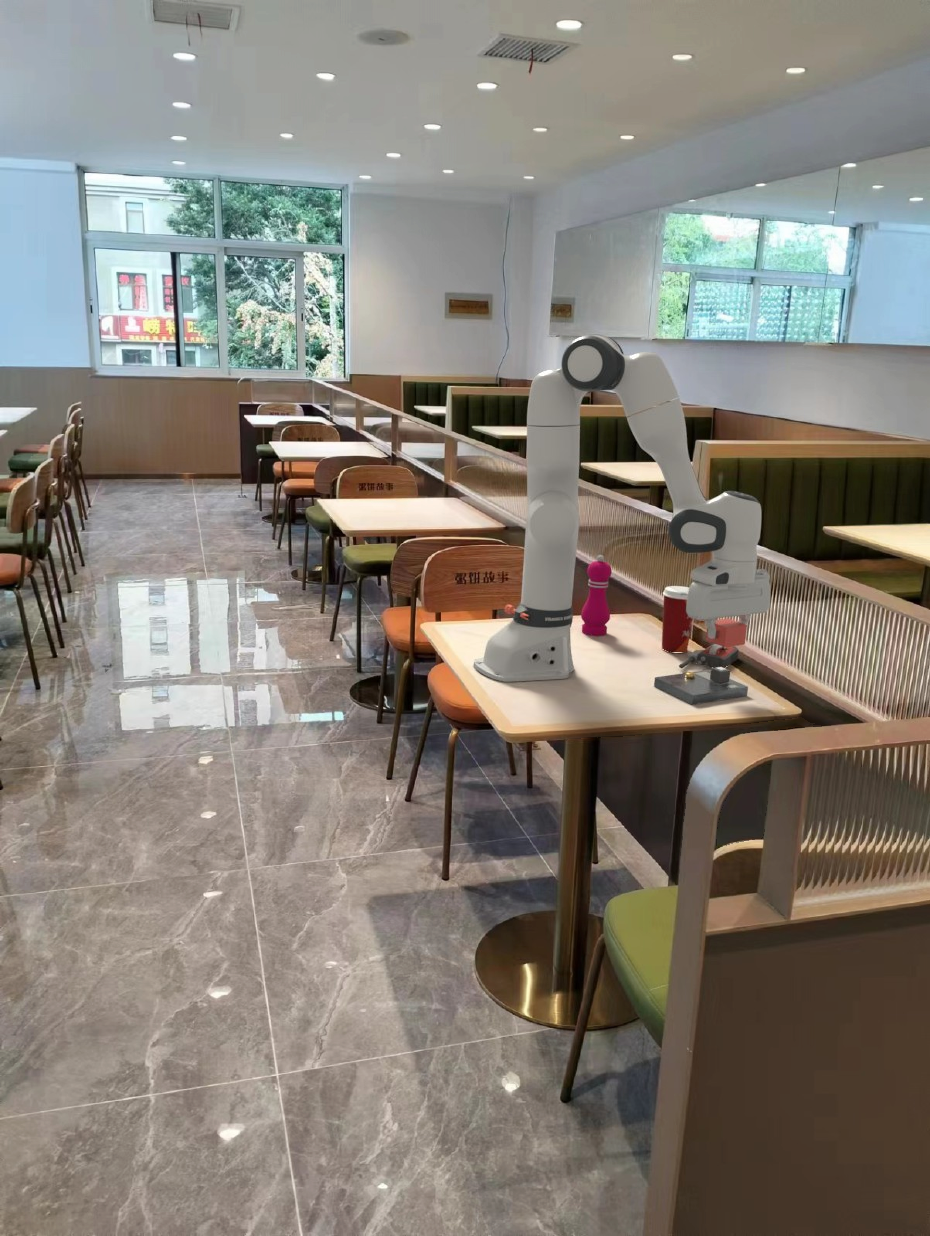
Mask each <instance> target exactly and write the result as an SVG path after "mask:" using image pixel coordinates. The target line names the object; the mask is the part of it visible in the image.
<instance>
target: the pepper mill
mask: <svg viewBox="0 0 930 1236" xmlns="http://www.w3.org/2000/svg"><path fill="white" fill-rule="evenodd" d="M604 560H605V557H604V555H603V554H599V555H597V557H596V561H592V562H591V563H590V564H589V565H588V567H587V570H586V572H587V573H586V574H587V576H588V577H589V579H588V584H587V585H588V586H589V592H588V597H587V600H586V602H585V603H584V605H583V607H582V610H581V614H580V617H581V619H582V622H583V624H582V625H581V633H583V634H584V635H588V636H593V637H601V636H605V635H606V634H608V633H607V632H608V626H607V625H606V624H607V623H608V622H609V621H610V619H611V611H610V607H609V606H608V601H607V596H606V593H607V592H606V591H607V588H608V587H609V579H610V578H611V576H612V567H611V565H610V564H609V563H608V562H606V561H604Z"/></svg>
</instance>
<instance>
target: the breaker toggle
mask: <svg viewBox="0 0 930 1236" xmlns="http://www.w3.org/2000/svg"><path fill="white" fill-rule="evenodd" d="M710 668H711V669H710V670H711V674H710V680H713V681H715V682H717V683H725V682H729V679H731V670H730V669H728V668H727V667H726V668H723V667H716V668H712V667H710Z"/></svg>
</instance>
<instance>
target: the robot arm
mask: <svg viewBox="0 0 930 1236" xmlns="http://www.w3.org/2000/svg"><path fill="white" fill-rule="evenodd" d="M600 391H601V392H602V391H613V392H614V393H615V394H616V395H617V397H618V399H619V400H620V402H621V405H622V409H623V411H624V414H625V417H626V419H627V423H628V426H629V429H630V430H631V432H632V435H633V436H634V438H635V441H636V442H637V444H638V445H639V447H640V448H641V449H642V450H643V451H644V452H646V453H647V454H648V455H649V456H651V457H652V459H653V460H654V461H655V462H656V464H657V465H658V467H659V470H660V471H661V473H662V476H663V480H664V482H665V484H666V487H667V490H668V492H669V496H670V499H671V500H672V518H671V520H670V522H669V526H668V537H669V539H670V542H671V543H672V545H673V546H674V547H675V549H677V550H678V551H681V552H683V553H686V554H701V553H710V552H712V558H711V560H709V561H707V562H705V563H704V564H702V565H700V566H697V567H696V568H694V569H692V570H691V573H690V579H691V580H692V582H691V584H690V585H689V591H688V597H687V605H686V612H687V614H688V616H689V617H690V618H693V620H696V621H704V623H705V625H706V629H707V628H708V638H711V639H715V638H718V637H719V630H716V627H715V624H714V623H717V620H718V619H725V618H729V617H730V618H731V617H738V618H739V619H738V620H737V622H740V623H742V624H745V625H747V626H748V623H749V622H750V620H751V615H756V614H765V613H767V612H768V610H769V609H770V607H771V583H770V578H771V575H770V573H769V572H768V571H767V570H766V569H765V568H760V569H757V563H758V553H757V546H758V543H759V541H760V539H761V530H762V506H761V504H760V502H759V501H758V499H757V498H756V497H754V496H753V495H750V494H747V493H744V492H740V491H735V490H727V491H723V493H721V494H719V495H718V496H715V497H713V498H711V499H707V498H706V496H705V495H704V494H703V492H702V489H701V487H700V484H699V482H698V479H697V476H696V472H695V470H694V467H693V464H692V462H691V459H690V454H689V449H688V437H687V435H688V434H687V426H686V418H685V413H684V410H683V405H682V402H681V398H679V397H680V396H679V394H678V390H677V387H676V386H675V383H674V380H673V378H672V377H671V374H670V372H669V370H668V368H667V366H666V365H665V363H664V361H663V360H662V358H661V357H660V356H659V355H658V354H656V353H654V352H649V351H642V352H637V353H633V354H630V355H626V354H624V351H623V349H622V347H621V345H619V343H618V342H617V341H615V340H614V339H612V338H611V337H609V336H606V335H603V334H598V333H597V334H594V333H593V334H588V335H583V336H579V337H576V338H575V339H574V340H572V341H571V342H570V343H569V344H568V345H567V347H566V348H565V349H564V352H563V354H562V357H561V367H560V368H557V369H555V368H554V369H549V370H544V371H542V372H540V373H538V374H537V375H535V376H534V377H533V379H532V381H531V385H530V390H529V393H528V402H527V412H526V485H527V486H526V487H527V488H526V490H527V491H526V492H527V493H526V501H527V502H526V503H527V506H526V507H527V508H526V518H525V533H524V534H525V535H524V553H523V568H522V569H523V570H522V582H521V583H522V585H521V596H520V597H521V599H520V602H519V603H518V605H517V607H516V606H513V605H512V604H506V605H505V606H504V612H505V614H509V615H511V616H512V620H511V621H509V623H507V624H506V625H504V627H502V628H501V629H500V630H499V631H497V632H496V633H495V634H494V635H492V636H491V637H490V638H489V639H488V640H487V642H486V645H485V651H484V653H483V657H479V658H475V659H474V660H473V667H474V668H475V669H476V671H477V672H479V673H480V674H482V675H484V676H486V677H488V678H491V679H493V680H496V681H500V682H506V683H508V682H509V683H510V682H527V681H542V680H544V681H546V680H547V681H548V680H560V679H561V680H562V679H568V678H569V677H570V674H571V672H573V671H574V669H575V665H574V660H573V655H572V644H571V627H572V623H573V618H574V606H573V605H572V603H573V593H574V592H573V590H574V578H575V569H576V568H575V567H576V558H577V549H578V540H579V530H580V529H579V528H580V516H579V480H580V479H579V478H580V477H579V475H580V474H579V473H580V471H579V470H580V448H581V447H580V439H581V436H580V434H581V429H580V428H581V416H580V415H581V406H582V401H583V398H584V397H585V395H587V394H590V393H594V392H600Z"/></svg>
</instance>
